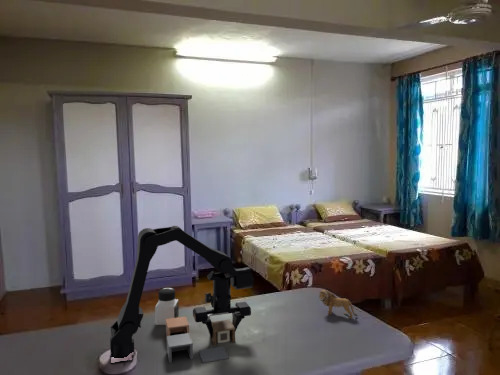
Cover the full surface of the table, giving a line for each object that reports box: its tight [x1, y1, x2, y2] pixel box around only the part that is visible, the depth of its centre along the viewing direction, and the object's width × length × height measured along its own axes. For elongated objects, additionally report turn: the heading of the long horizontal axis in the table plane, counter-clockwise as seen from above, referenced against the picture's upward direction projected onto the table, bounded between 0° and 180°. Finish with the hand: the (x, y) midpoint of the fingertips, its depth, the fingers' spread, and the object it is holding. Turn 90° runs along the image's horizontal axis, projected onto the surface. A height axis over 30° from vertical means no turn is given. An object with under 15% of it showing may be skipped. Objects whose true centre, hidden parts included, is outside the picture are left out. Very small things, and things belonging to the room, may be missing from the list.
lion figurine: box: [318, 289, 358, 319], centre depth 152 cm, size 15×5×9 cm, turn 71°
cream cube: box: [216, 330, 231, 344], centre depth 132 cm, size 4×4×4 cm
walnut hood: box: [209, 318, 236, 347], centre depth 132 cm, size 7×7×5 cm
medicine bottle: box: [154, 287, 180, 326], centre depth 146 cm, size 7×7×12 cm
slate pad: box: [198, 346, 230, 364], centre depth 122 cm, size 8×7×1 cm
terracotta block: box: [165, 316, 190, 337], centre depth 134 cm, size 7×7×5 cm
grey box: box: [166, 332, 194, 364], centre depth 122 cm, size 7×7×5 cm
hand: (222, 336), depth 132 cm, fingers closed on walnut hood, 7 cm apart
